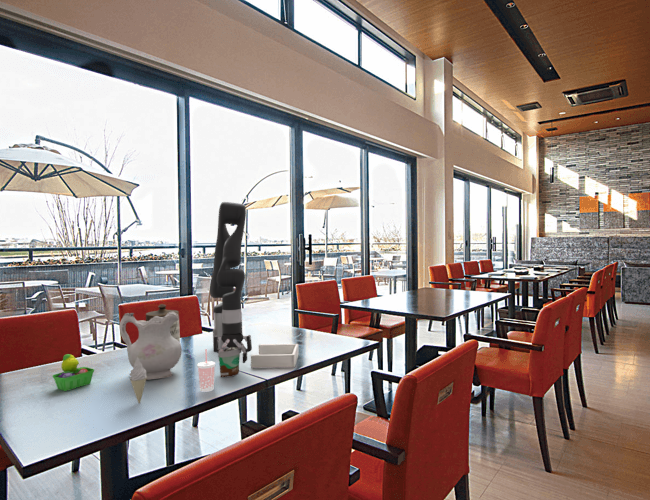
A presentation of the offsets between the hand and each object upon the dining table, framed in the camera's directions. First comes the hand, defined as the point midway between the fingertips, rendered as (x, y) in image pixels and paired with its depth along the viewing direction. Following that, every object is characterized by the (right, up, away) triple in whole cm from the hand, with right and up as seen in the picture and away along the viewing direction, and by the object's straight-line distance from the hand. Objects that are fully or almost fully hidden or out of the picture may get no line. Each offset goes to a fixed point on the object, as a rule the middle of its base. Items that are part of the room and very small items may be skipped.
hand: (233, 362), depth 162 cm
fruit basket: (-55, -6, -10) cm, 57 cm away
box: (+14, -4, +16) cm, 22 cm away
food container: (0, -5, 0) cm, 5 cm away
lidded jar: (-41, -4, +37) cm, 56 cm away
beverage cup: (-5, -5, -17) cm, 18 cm away
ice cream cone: (-24, -6, -28) cm, 37 cm away
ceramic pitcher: (-31, -5, 0) cm, 31 cm away
